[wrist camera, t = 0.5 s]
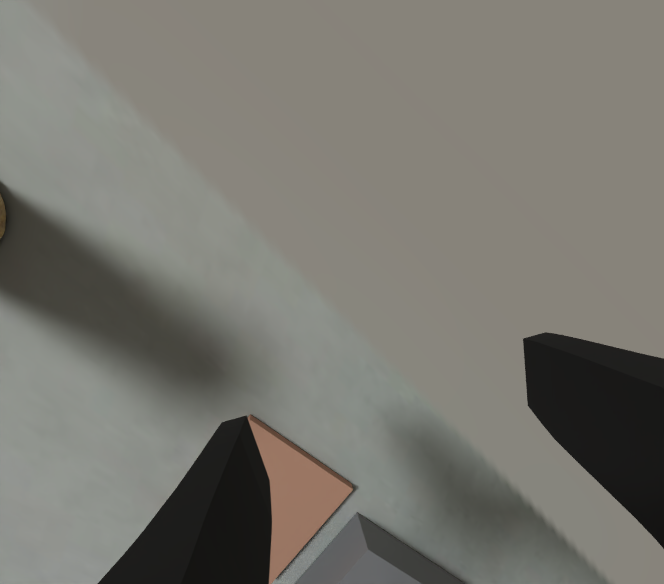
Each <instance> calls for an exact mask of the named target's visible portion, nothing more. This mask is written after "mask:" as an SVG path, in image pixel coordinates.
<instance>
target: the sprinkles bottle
mask: <svg viewBox="0 0 664 584" xmlns="http://www.w3.org/2000/svg"><path fill="white" fill-rule="evenodd" d="M5 221H6V211H5V205H4V201H3V199H2V197H1V194H0V239H1V238H2V236H3V234H4V232H5Z"/></svg>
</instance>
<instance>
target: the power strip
mask: <svg viewBox="0 0 664 584" xmlns="http://www.w3.org/2000/svg"><path fill="white" fill-rule="evenodd" d="M295 584H464V583H463V582H461V581H460V580H458V579H457V578H455V577H454V576H452V575H451V574H449V573H448V572H446V571H445V570H443V569H442V568H440V567H439V566H437V565H436V564H434V563H433V562H431V561H430V560H428V559H426V558H425V557H423V556H422V555H420V554H419V553H417V552H416V551H414V550H413V549H411V548H410V547H408V546H407V545H405V544H404V543H402V542H401V541H399V540H398V539H396V538H395V537H393V536H392V535H390V534H389V533H387V532H386V531H384V530H383V529H381V528H380V527H378V526H377V525H375V524H374V523H372V522H371V521H369V520H368V519H366V518H364V517H363V516H361V515H360V514H358V513H356V514H355V516H354V517H353V518H352V519H351V520H350V521H349V522H348V524H347V525H346V526H345V527H344V528H343V529H342V530H341V532H340V533H339V534H338V535H337V536H336V537H335V538H334V540H333V541H332V542H331V543H330V544H329V545H328V546H327V548H326V549H325V550H324V551H323V552H322V553H321V554H320V556H319V557H318V558H317V559H316V560H315V561H314V562H313V564H312V565H311V566H310V567H309V568H308V569H307V570H306V572H305V573H304V574H303V575H302V576H301V577H300V578H299V580H298V581H297V582H296V583H295Z"/></svg>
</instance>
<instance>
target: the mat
mask: <svg viewBox="0 0 664 584" xmlns="http://www.w3.org/2000/svg"><path fill="white" fill-rule="evenodd" d="M248 421H249V424H250V426H251V429H252V432H253V435H254V438H255V440H256V443H257V446H258V449H259V452H260V454H261V457H262V460H263V463H264V466H265V468H266V471H267V474H268V477H269V480H270V492H271V508H272V536H271V555H270V572H269V584H271V583H272V582H273V581H274V580H275V579H276V578H277V576H278V575H279V574H280V573H281V572H282V571H283V570H284V568H285V567H286V566H287V565H288V564H289V563H290V561H291V560H292V559H293V558H294V557H295V556H296V555H297V553H298V552H299V551H300V550H301V549H302V548H303V547H304V545H305V544H306V543H307V542H308V541H309V540H310V539H311V537H312V536H313V535H314V534H315V533H316V532H317V530H318V529H319V528H320V527H321V526H322V525H323V524H324V522H325V521H326V520H327V519H328V518H329V517H330V516H331V514H332V513H333V512H334V511H335V510H336V509H337V508H338V506H339V505H340V504H341V503H342V502H343V501H344V499H345V498H346V497H347V496H348V495H349V494H350V493H351V491H352V490H353V487H352V484H351V483H350V482H349V481H347V480H346V479H344V478H343V477H341V476H340V475H338V474H337V473H335V472H334V471H332V470H331V469H329V468H328V467H327V466H325V465H324V464H322V463H321V462H319V461H318V460H316V459H315V458H313V457H312V456H310V455H309V454H307V453H306V452H305V451H303V450H302V449H300V448H299V447H297V446H296V445H294V444H293V443H291V442H290V441H288V440H287V439H286V438H284V437H283V436H281V435H280V434H278V433H277V432H275V431H274V430H272V429H271V428H269V427H268V426H266V425H265V424H264V423H262V422H261V421H259V420H258V419H256V418H255V417H253V416H252V415H249V417H248Z"/></svg>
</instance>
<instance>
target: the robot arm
mask: <svg viewBox="0 0 664 584" xmlns="http://www.w3.org/2000/svg"><path fill="white" fill-rule="evenodd" d="M523 343H524V356H525V371H526V384H527V400H528V406H529V408H530V409H531V410H532V411H533V413H534V414H535V415H536V416H537V418H538V419H539V420H540V422H541V423H542V424H543V426H544V427H545V428H546V429H547V430H548V432H549V433H550V434H551V435H552V436H553V438H554V439H555V440H556V441H557V442H558V443H559V444H560V445H561V446H562V447H563V448H564V449H565V450H566V451H567V452H568V453H569V454H570V455H571V456H572V457H573V458H574V459H575V460H576V461H577V462H578V463H579V464H580V465H581V466H582V467H583V468H584V469H586V471H587V472H589V473H590V474H591V475H592V476H593V477H594V478H595V479H596V480H597V481H598V482H599V483H600V484H601V485H602V486H603V487H604V488H605V489H606V490H607V491H608V492H609V493H610V494H611V495H612V496H613V497H614V498H615V499H616V500H617V501H618V502H620V503H621V504H622V505H623V506H624V507H625V508H626V509H627V510H628V511H629V512H630V513H631V514H632V515H633V516H634V517H635V518H636V519H637V520H638V521H639V522H640V523H641V524H642V525H643V526H644V527H645V529H647V531H648V532H649V533H650V534H652V536H653V537H654V538H655V539H656V540H657V541H658V542H659V544H660V545H661V546H662V547H663V548H664V359H662V358H658V357H654V356H649V355H645V354H640V353H636V352H632V351H628V350H624V349H619V348H615V347H611V346H607V345H603V344H599V343H594V342H590V341H586V340H582V339H577V338H573V337H568V336H564V335H558V334H553V333H542V334H538V335H535V336H531V337H528V338H524V339H523ZM271 536H272V508H271V492H270V480H269V477H268V474H267V471H266V468H265V466H264V463H263V460H262V457H261V454H260V452H259V449H258V446H257V443H256V440H255V438H254V435H253V432H252V429H251V426H250V424H249V421H248V418H247V416H243V417H240V418H236V419H233V420H229V421H225V422H222V423H221V425H220V426H219V427H218V429H217V430H216V432H215V433H214V435H213V436H212V437H211V439H210V440H209V442H208V443H207V445H206V446H205V448H204V449H203V451H202V452H201V454H200V455H199V457H198V458H197V460H196V461H195V462H194V464H193V465H192V467H191V468H190V469H189V471H188V472H187V474H186V475H185V477H184V478H183V479H182V481H181V482H180V484H179V485H178V486H177V488H176V489H175V491H174V492H173V493H172V494H171V496H170V497H169V498H168V500H167V501H166V502H165V504H164V505H163V506H162V507H161V509H160V510H159V511H158V513H157V514H156V515H155V517H154V518H153V519H152V520H151V522H150V523H149V524H148V526H147V527H146V528H145V530H144V531H143V532H142V533H141V534H140V536H139V537H138V538H137V539H136V541H135V542H134V543H133V544H132V545H131V546H130V548H129V549H128V550H127V551H126V552H125V554H124V555H123V556H122V557H121V558H120V559H119V560H118V561H117V563H116V564H115V565H114V566H113V567H112V568H111V569H110V570H109V572H108V573H107V574H106V575H105V576H104V577H103V578H102V579H101V581H100V582H99V583H98V584H269V572H270V555H271Z"/></svg>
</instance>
